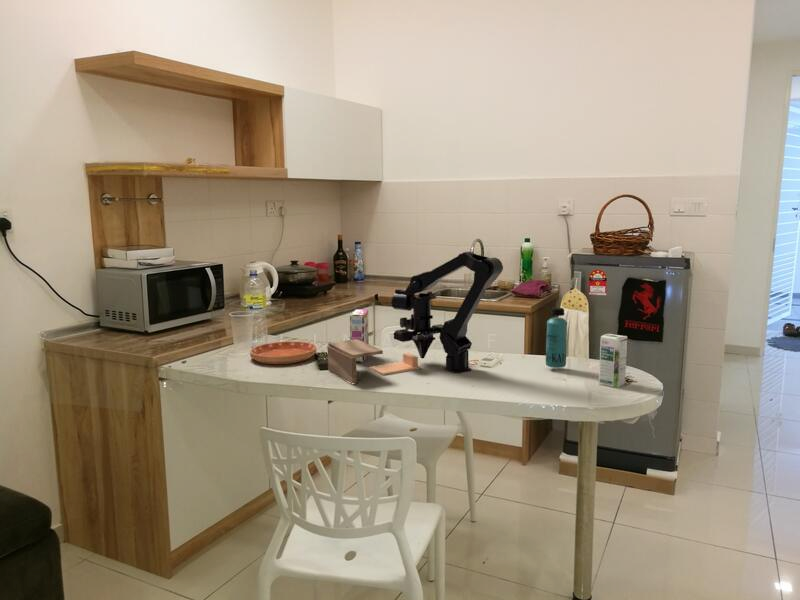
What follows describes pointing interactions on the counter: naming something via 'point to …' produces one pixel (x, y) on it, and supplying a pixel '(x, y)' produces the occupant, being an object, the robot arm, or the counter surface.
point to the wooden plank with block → (398, 365)
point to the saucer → (283, 352)
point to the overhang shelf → (348, 358)
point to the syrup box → (612, 360)
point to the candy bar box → (359, 328)
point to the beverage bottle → (556, 340)
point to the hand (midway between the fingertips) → (422, 358)
